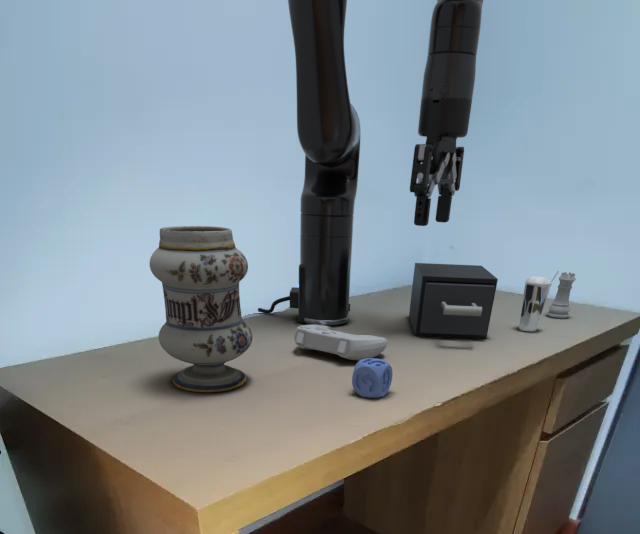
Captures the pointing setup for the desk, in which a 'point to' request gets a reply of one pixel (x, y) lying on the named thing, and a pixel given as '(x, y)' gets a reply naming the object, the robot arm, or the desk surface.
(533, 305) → the milkshake
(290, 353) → the desk surface
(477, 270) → the small filing cabinet
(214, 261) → the apothecary jar
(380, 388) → the decorative dice
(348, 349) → the game controller
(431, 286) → the drawer
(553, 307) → the rook chess piece
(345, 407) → the desk surface
